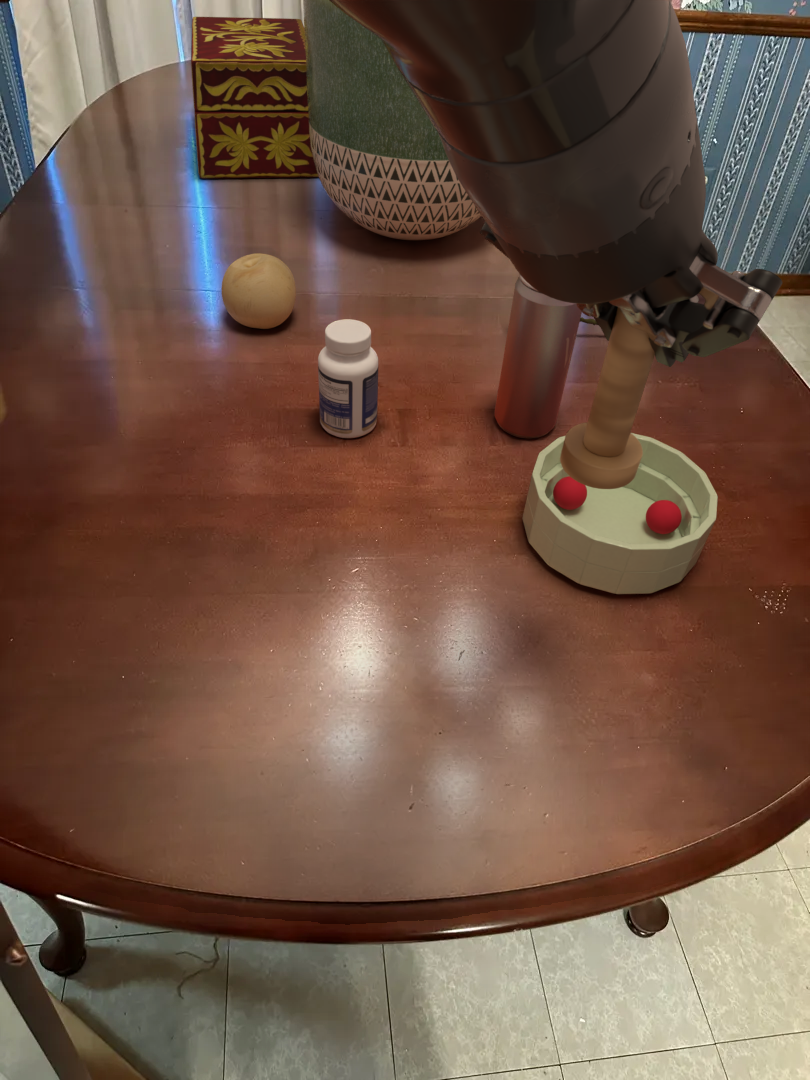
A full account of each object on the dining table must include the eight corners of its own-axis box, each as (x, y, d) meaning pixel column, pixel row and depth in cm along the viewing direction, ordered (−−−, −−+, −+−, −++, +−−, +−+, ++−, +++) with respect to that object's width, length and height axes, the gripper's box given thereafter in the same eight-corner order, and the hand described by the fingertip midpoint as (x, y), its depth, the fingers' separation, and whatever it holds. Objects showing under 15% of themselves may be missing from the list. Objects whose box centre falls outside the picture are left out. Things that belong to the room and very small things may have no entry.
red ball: (589, 505, 67) (596, 480, 65) (571, 521, 65) (578, 496, 63) (561, 490, 68) (568, 465, 66) (543, 505, 67) (549, 480, 65)
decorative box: (326, 178, 117) (325, 64, 107) (198, 179, 114) (184, 62, 103) (308, 117, 136) (305, 16, 126) (198, 117, 133) (186, 13, 123)
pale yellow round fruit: (304, 334, 84) (265, 284, 78) (242, 351, 88) (200, 304, 81) (313, 280, 88) (276, 228, 82) (253, 298, 91) (213, 249, 85)
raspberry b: (681, 529, 65) (692, 504, 63) (666, 546, 64) (676, 521, 62) (651, 513, 67) (660, 488, 65) (635, 529, 65) (644, 504, 63)
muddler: (649, 464, 46) (740, 204, 35) (612, 500, 43) (697, 232, 33) (584, 432, 48) (652, 176, 37) (545, 465, 45) (605, 201, 35)
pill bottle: (365, 401, 77) (367, 310, 70) (385, 433, 73) (389, 340, 67) (312, 411, 75) (308, 319, 68) (330, 444, 72) (328, 351, 65)
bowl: (723, 533, 66) (747, 483, 62) (642, 629, 58) (663, 579, 54) (580, 458, 72) (593, 409, 69) (488, 536, 64) (498, 485, 61)
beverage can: (506, 398, 79) (531, 253, 68) (562, 415, 77) (597, 270, 66) (484, 429, 75) (507, 281, 64) (543, 448, 73) (576, 299, 63)
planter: (314, 184, 115) (308, -42, 96) (494, 191, 117) (523, -30, 98) (305, 267, 96) (295, 6, 77) (519, 274, 98) (561, 21, 79)
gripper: (849, 88, 23) (817, 322, 38) (465, -2, 29) (573, 232, 44) (710, 320, 23) (735, 457, 39) (364, 185, 29) (505, 350, 45)
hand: (648, 336), depth 41 cm, fingers closed on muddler, 2 cm apart
